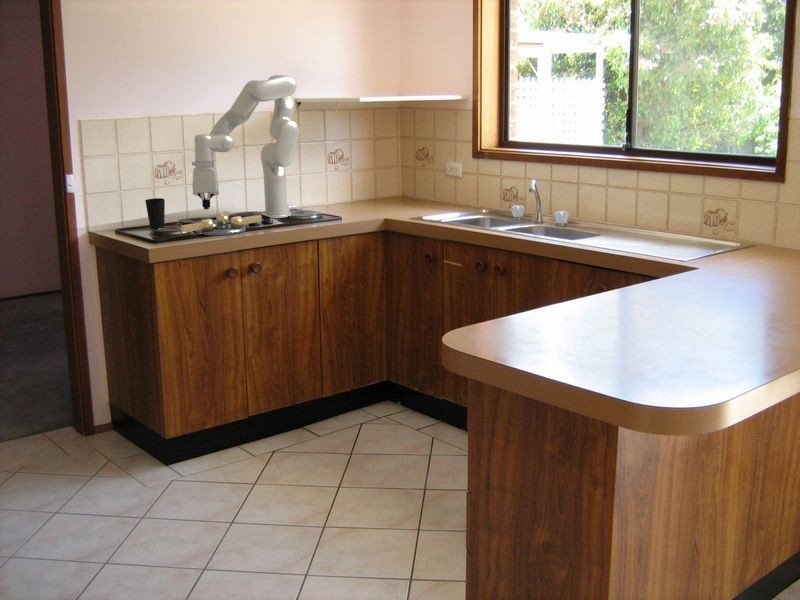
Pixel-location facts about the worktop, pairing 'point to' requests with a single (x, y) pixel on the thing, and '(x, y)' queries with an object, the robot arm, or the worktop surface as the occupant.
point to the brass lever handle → (244, 220)
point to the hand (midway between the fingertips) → (206, 208)
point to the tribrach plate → (222, 230)
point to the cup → (156, 212)
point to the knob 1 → (223, 218)
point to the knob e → (198, 226)
